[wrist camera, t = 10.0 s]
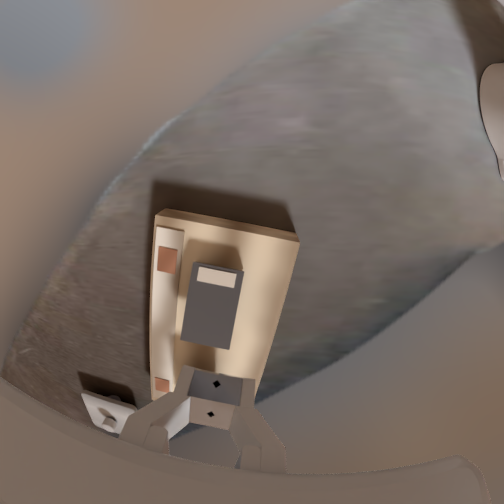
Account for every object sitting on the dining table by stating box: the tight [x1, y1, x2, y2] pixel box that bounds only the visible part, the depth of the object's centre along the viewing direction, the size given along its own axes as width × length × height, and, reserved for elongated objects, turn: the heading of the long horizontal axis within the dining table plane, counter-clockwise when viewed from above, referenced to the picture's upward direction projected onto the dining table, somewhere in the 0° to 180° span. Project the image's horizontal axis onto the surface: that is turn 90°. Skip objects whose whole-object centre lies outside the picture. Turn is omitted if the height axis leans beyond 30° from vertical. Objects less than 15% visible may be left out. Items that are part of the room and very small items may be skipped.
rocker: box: [180, 261, 244, 350], centre depth 25 cm, size 4×7×2 cm, turn 169°
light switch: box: [81, 390, 138, 434], centre depth 36 cm, size 10×10×5 cm
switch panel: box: [150, 208, 300, 400], centre depth 30 cm, size 13×25×4 cm, turn 169°
